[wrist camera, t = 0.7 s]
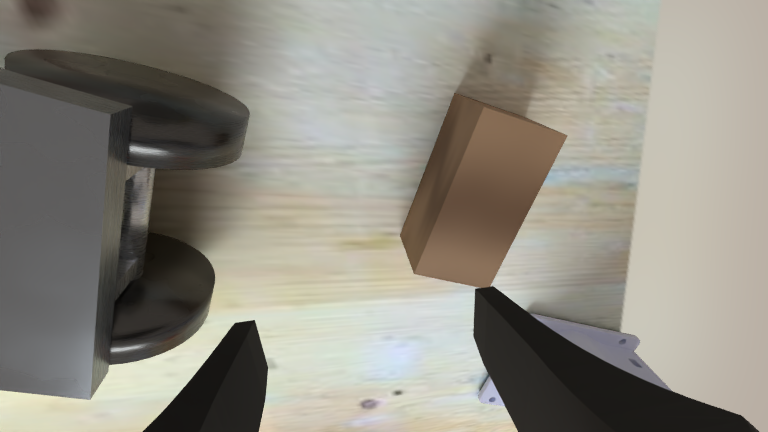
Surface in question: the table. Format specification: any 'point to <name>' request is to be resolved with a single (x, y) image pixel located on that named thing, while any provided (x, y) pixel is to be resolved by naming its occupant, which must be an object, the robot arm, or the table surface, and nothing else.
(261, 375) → the robot arm
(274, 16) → the table surface
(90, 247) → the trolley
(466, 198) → the block
